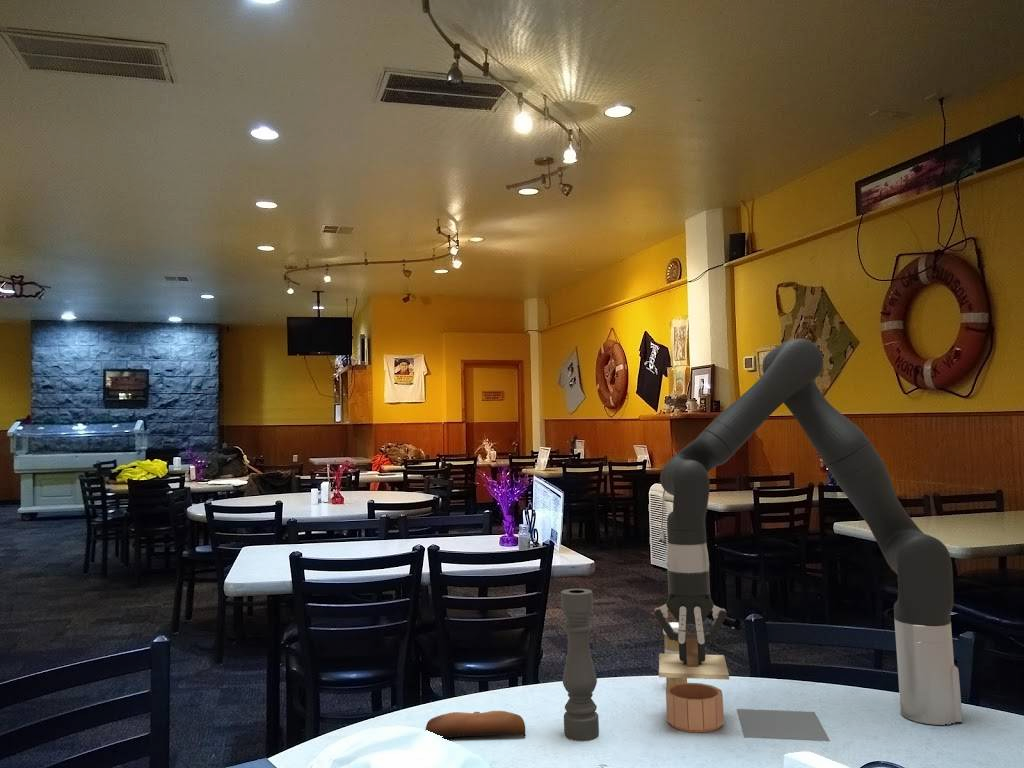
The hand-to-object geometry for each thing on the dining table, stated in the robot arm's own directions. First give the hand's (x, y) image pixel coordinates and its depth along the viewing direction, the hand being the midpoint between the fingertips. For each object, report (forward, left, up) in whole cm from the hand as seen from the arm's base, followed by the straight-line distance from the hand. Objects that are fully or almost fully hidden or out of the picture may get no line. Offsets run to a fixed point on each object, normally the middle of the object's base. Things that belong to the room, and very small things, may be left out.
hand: (692, 663), depth 139 cm
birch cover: (0, 0, -1) cm, 1 cm away
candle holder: (+20, +7, -11) cm, 24 cm away
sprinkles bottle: (+3, -19, -11) cm, 22 cm away
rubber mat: (-15, -1, -11) cm, 19 cm away
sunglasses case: (+39, +8, -12) cm, 42 cm away
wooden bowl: (0, 0, -11) cm, 11 cm away
